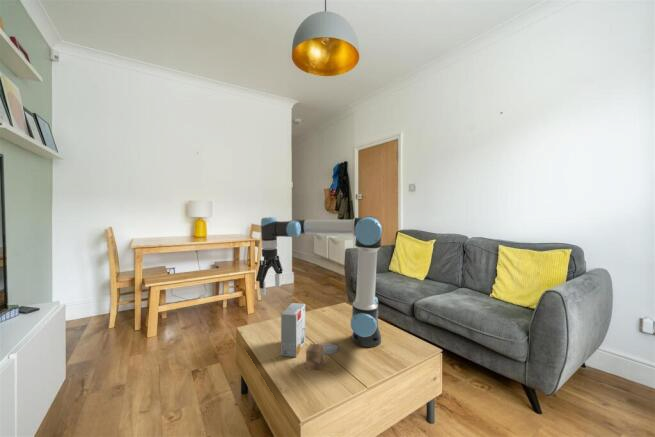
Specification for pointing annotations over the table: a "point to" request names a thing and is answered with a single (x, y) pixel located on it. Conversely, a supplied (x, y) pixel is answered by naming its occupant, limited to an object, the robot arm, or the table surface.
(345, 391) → the table surface
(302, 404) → the table surface
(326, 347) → the slate coaster
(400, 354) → the table surface
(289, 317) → the hard drive box
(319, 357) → the walnut block
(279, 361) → the table surface
